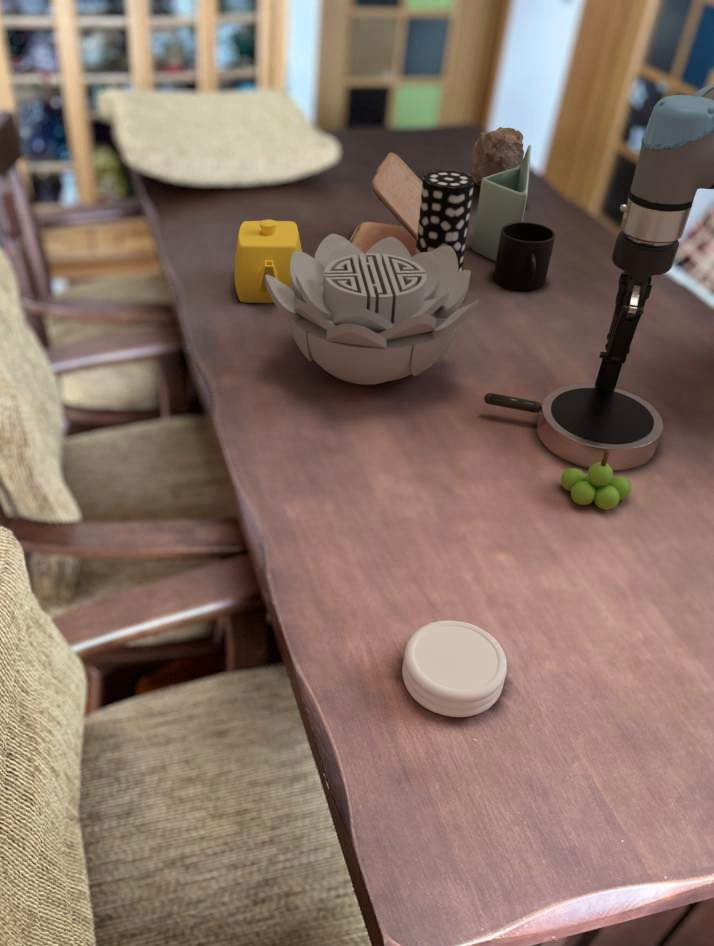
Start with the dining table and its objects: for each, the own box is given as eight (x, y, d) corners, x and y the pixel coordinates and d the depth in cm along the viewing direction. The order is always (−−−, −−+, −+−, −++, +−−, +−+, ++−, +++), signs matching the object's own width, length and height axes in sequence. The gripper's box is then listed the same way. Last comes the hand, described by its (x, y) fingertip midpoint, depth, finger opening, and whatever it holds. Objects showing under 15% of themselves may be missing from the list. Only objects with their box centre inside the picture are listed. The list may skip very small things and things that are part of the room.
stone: (532, 213, 177) (546, 138, 167) (488, 215, 176) (500, 140, 166) (499, 178, 193) (510, 108, 183) (458, 180, 192) (467, 109, 182)
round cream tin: (502, 727, 78) (508, 704, 76) (397, 711, 79) (400, 688, 77) (502, 647, 85) (507, 625, 83) (406, 634, 86) (409, 611, 84)
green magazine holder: (471, 233, 168) (486, 129, 155) (510, 236, 167) (528, 131, 154) (471, 266, 156) (488, 156, 143) (514, 269, 155) (534, 159, 142)
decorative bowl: (264, 321, 138) (262, 233, 128) (438, 318, 140) (450, 230, 130) (270, 422, 116) (268, 324, 106) (478, 416, 118) (495, 319, 108)
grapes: (628, 492, 105) (645, 444, 100) (627, 518, 101) (644, 470, 96) (559, 479, 107) (572, 431, 102) (556, 505, 103) (569, 456, 98)
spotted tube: (465, 291, 148) (482, 176, 134) (446, 309, 142) (462, 191, 129) (423, 281, 151) (435, 167, 138) (403, 298, 146) (414, 181, 132)
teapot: (304, 315, 140) (305, 247, 132) (232, 315, 140) (228, 247, 132) (303, 266, 155) (303, 202, 147) (237, 266, 155) (234, 202, 147)
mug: (501, 298, 146) (510, 248, 140) (488, 269, 155) (496, 221, 149) (554, 298, 146) (565, 248, 140) (538, 269, 155) (548, 221, 149)
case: (445, 281, 151) (456, 192, 140) (334, 267, 155) (337, 179, 144) (460, 239, 166) (472, 155, 155) (359, 227, 170) (363, 145, 159)
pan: (657, 417, 118) (664, 395, 116) (653, 481, 107) (662, 458, 104) (490, 386, 124) (494, 365, 121) (470, 444, 112) (474, 422, 110)
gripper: (620, 213, 109) (578, 369, 125) (617, 250, 100) (572, 414, 116) (679, 220, 107) (629, 377, 123) (681, 259, 98) (627, 424, 114)
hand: (602, 395), depth 119 cm, fingers closed
